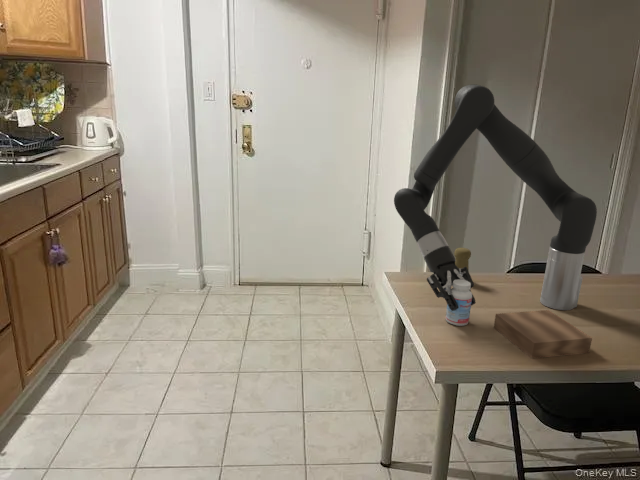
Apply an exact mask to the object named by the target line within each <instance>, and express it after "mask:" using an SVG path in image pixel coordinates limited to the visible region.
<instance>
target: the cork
mask: <svg viewBox="0 0 640 480" xmlns="http://www.w3.org/2000/svg"><path fill="white" fill-rule="evenodd" d="M453 252H454V253H453V255H454V257H455V259H456V261H455V265H456V266H457V267H458V268H459V269H461V268H464V267H467V269H468V271H469V268H470V267H469V262H470V261H469V260H470V258H471V257H472V252H471V250H470V249H468V248H466V247H457V248H456V249H455V250H454V251H453Z"/></svg>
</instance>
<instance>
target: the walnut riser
mask: <svg viewBox="0 0 640 480" xmlns="http://www.w3.org/2000/svg"><path fill="white" fill-rule="evenodd" d="M493 329H495V330H496V331H497V332H498V333H499V334H501V335H502V336H503V337H505V339H507V340H508V341H509V342H511V344H513V345H515V346H516V347H517V349H519V350H521V351H522V352H523V353H524V354H525V355H527V356H528V357H529V358H530V359H538V358H548V357H559V356H568V355H569V356H571V355H578V354H579V355H581V354H589V353H590V350H591V345H592V342H593V337H592V336H590V335H588V333H585V332H584V331H582V330H580V329H579V328H577V327H576V326H574V325H573V324H571V323H570V322H568V321H566V320H565V319H563V318H562V317H560V316H558V315H557V314H555V313H554V312H552V311H551V310H549V309H543V310H541V309H540V310H533V311H531V310H530V311H518V312H517V311H516V312H515V311H514V312H504V313H503V312H501V313H500V312H499V313H495V317H494V323H493Z"/></svg>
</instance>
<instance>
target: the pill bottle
mask: <svg viewBox="0 0 640 480" xmlns="http://www.w3.org/2000/svg"><path fill="white" fill-rule="evenodd" d="M470 288H471V283H470V282H468V281H466V280H460V279H458V280H454V281H453V285H452V286H451V295H453V297H454V299H455V301H456V303H457V305H458V309H456V310H454V311H452V310H451V309H450V308H449V306H448V304H447V303H446V310H445V321H446V322H447V323H448V324H451V325H454V326H457V327H458V326H459V327H461V326H462V327H463V326H466V325H468V323H469V322H470V315H471V308H472V306H471V302H472V294H473V293H472V291H469V290H471V289H472V288H471V289H470Z"/></svg>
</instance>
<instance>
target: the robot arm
mask: <svg viewBox="0 0 640 480" xmlns="http://www.w3.org/2000/svg"><path fill="white" fill-rule="evenodd" d="M454 107H455V113H454V115H453V116H452V119H451V121H450V123H449V124H448V126H447V127H446V129H445V130H444V132H443V133H442V135H441V136H440V137H438V139H437V141H435V143H434V144H433V145H432V146H431V148H430V149H429V150H428V151H427V152H426V154H424V155H425V156H424V157H423V159H422V160H421V162H420V163H419V165H418V166H417V168H416V170H415V172H414V173H413V178H414V180H415V182H414V184H413V187H412V188H407V187H405V188H400V189H398V190H397V191H396V192H395V194H394V197H393V203H394V208H395V210H396V212H397V213H398V215H399V216H400V217H401V219H402V220H403V222H404V223H405V225H406V226H408V228H409V230H410V231H411V234H412V235H413V237H414V240H415V242H416V244H417V246H418V249H419V252H420V253H421V256H422V258H423V259H424V262H425V264H426V265H427V267H428V270H429V272H430V273H433V274H431V275H429V276H428V277H427V278H426V282H427V283H428V285H429V286H430V288H431V290H432V291H433V293H434V294H435V296H436V297H437V298H438V299H439V298H443V299H444V300H445V302H446V305H447V304H448V306H449V308H450V309H451V310H452V311H454V310H456V309H458V305H457V303H456V301H455V299H454V297H453V295H451V289H452V287H453V286H452V285H453V281H454V280H458V279H460V280H466V281H468V282H470V283H471V288H470V290H469V291H471V290H472V288H474V286H475V284H474V280H473V278H472V276H471V274H470V272H469V271H468V269H467V267H464V268H461V269H459V268H458V267H457V266H456V265H455V261H456V259H455V256H454V253H453V252H452V250H451V248H450V246H449V244H448V242H447V240H446V238H445V237H444V235H443V234H442V232H441V231H440V229H439V226H438V225H437V223H436V221H435V220H434V218H433V217H432V216H431V215H429V214H428V213H426V212H425V210H426V209H427V207H428V206H429V204H430V202H431V199H432V196H433V194H434V191H435V189H436V186H437V185H438V183H439V182H440V180H441V178H442V177H443V176H444V174H445V172H446V171H447V170H448V168H449V167H450V165H451V163H452V161H453V160H454V159H455V157H456V156H457V154H458V152H459V151H460V150H461V148H462V147H463V145H464V144H465V143H466V142H467V141H468V139H469V138H470V137H471V135H472V134H473V133H474V132H475V131H476V130H477V131H478V132H479V133H481V134H482V135H483V137H484V138H485V139H486V140H487V142H488V143H489V144H490V145H491V147H492V148H493V150H494V151H495V153H497V155H498V156H499V157H500V159H502V161H503V162H504V163H505V164H506V166H508V168H509V169H510V170H511V171H513V173H514V174H515V175H516V176H517V177H518V178H519V179H520V180H521V181H523V182H524V184H526V185H527V186H528V187H529V188H530V189H532V190H533V191H534V192H535V193H536V194H537V195H538V196H539V198H541V200H542V202H543V203H545V204H546V206H547V207H548V209H549V210H550V212H551V213H552V214H553V216H554V217H555V219H556V220H557V221H559V222H560V223H559V226H558V227H559V228H558V232H557V234H556V235H554V236H552V238H551V239H550V244H549V249H548V253H547V261H546V266H545V272H544V277H543V281H542V282H543V283H542V287H541V294H540V299H539V301H540V303H541V305H543V306H545V307H548V308H550V309H554V310H557V311H558V310H559V311H571V310H573V309H574V308H577V306H578V302H579V299H580V298H579V297H580V293H581V289H582V288H581V287H582V283H583V279H584V278H583V276H582V275H581V273H582V270H583V269H582V268H583V264H584V259H585V253H586V249H587V247H588V245H589V244H590V243H591V240H592V237H593V232H594V228H595V224H596V221H597V214H598V209H597V205H596V203H595V201H594V200H592V199H591V198H589V197H588V196H585V195H583V194H581V193H579V192H577V191H575V190H574V189H573V188H572V187H570V186H569V184H567V182H565V181H564V180H563V179H562V178H561V177H560V176H559V174H558V173H557V172H556V169H555V168H554V166H553V163H552V161H551V159H550V158H549V157H548V155H547V153H546V152H545V151H544V150H543V149H542V147H540V146H539V144H537V142H536V141H535V140H534V139H533V138H532V137H531V136H529V134H528V133H526V132H525V130H523V129H521V127H518V125H516V124H515V123H513V122H512V121H510V120H509V118H507V117H506V116H505V115H504V114H503V113H502V112H501V111H500V109H499V108H498V106H497V105H496V104H495V95H494V94H493V92H492V91H491V90H490V89H489V88H488V87H486V86H484V85H480V84H467V85H464V86H462V87H461V88H460V89H459V90H458V91H457V93H456V95H455V98H454ZM471 292H472V291H471ZM475 304H476V299H475V296H474V295H473V293H472V302H471V307H472V306H473V305H475Z"/></svg>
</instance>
